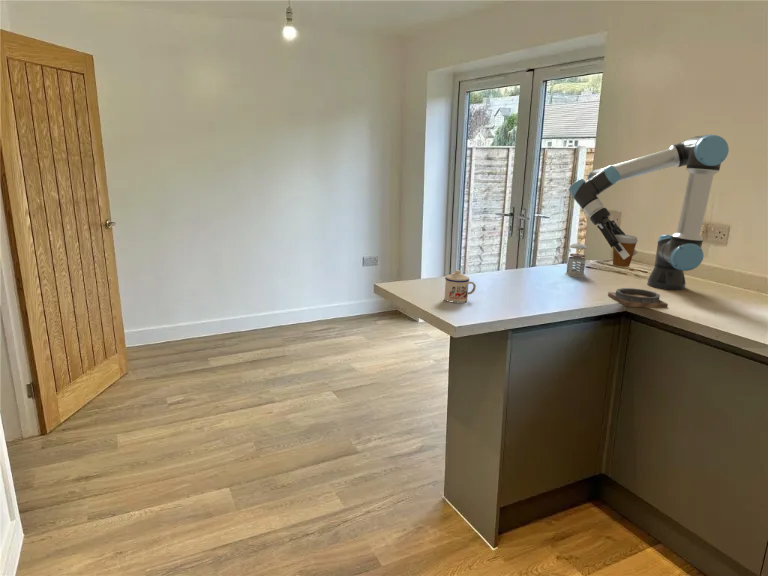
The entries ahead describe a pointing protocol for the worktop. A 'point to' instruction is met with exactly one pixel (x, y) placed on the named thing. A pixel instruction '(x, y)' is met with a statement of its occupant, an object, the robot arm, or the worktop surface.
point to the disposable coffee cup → (629, 246)
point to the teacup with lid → (457, 287)
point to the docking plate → (634, 304)
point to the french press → (576, 261)
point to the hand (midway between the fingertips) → (630, 256)
